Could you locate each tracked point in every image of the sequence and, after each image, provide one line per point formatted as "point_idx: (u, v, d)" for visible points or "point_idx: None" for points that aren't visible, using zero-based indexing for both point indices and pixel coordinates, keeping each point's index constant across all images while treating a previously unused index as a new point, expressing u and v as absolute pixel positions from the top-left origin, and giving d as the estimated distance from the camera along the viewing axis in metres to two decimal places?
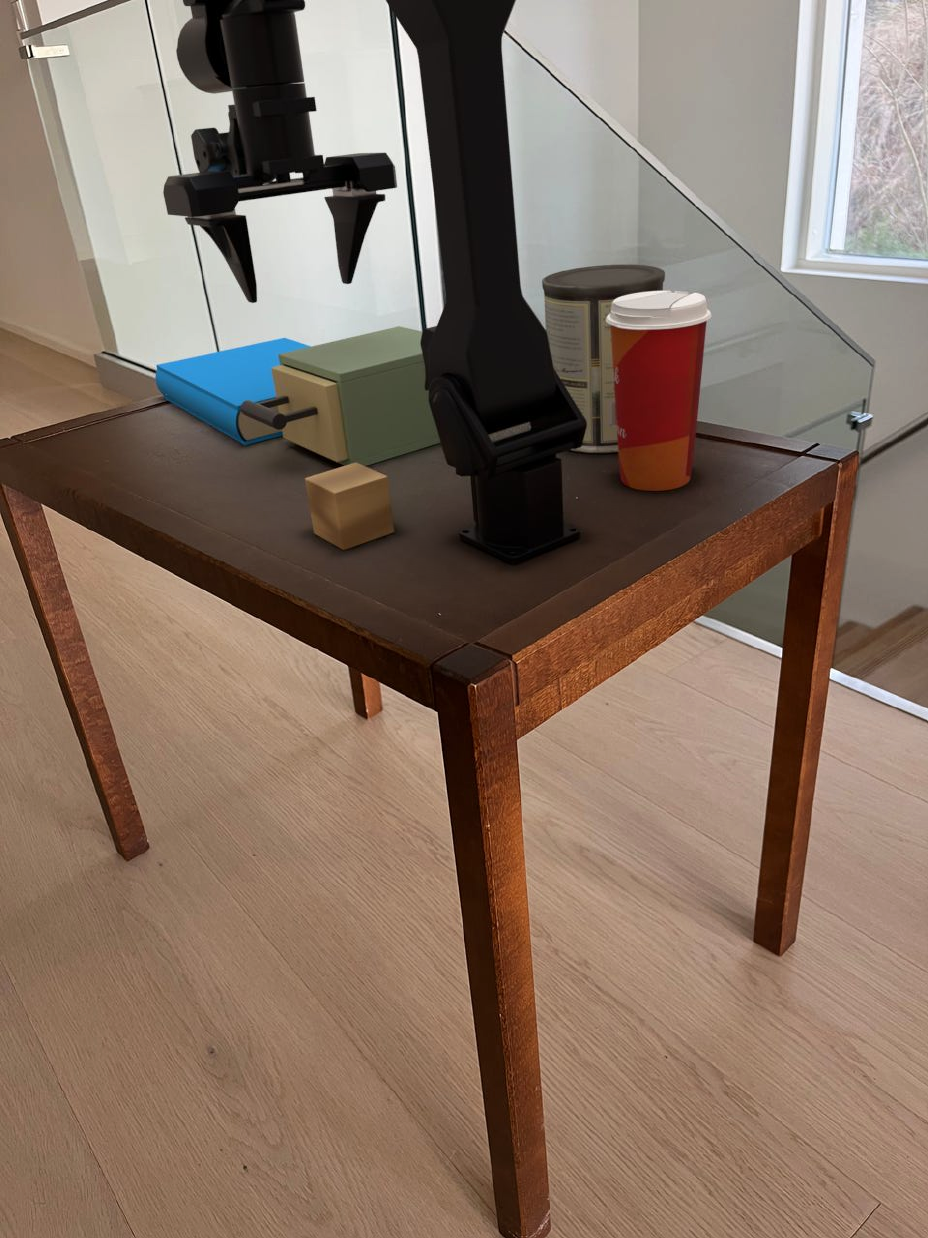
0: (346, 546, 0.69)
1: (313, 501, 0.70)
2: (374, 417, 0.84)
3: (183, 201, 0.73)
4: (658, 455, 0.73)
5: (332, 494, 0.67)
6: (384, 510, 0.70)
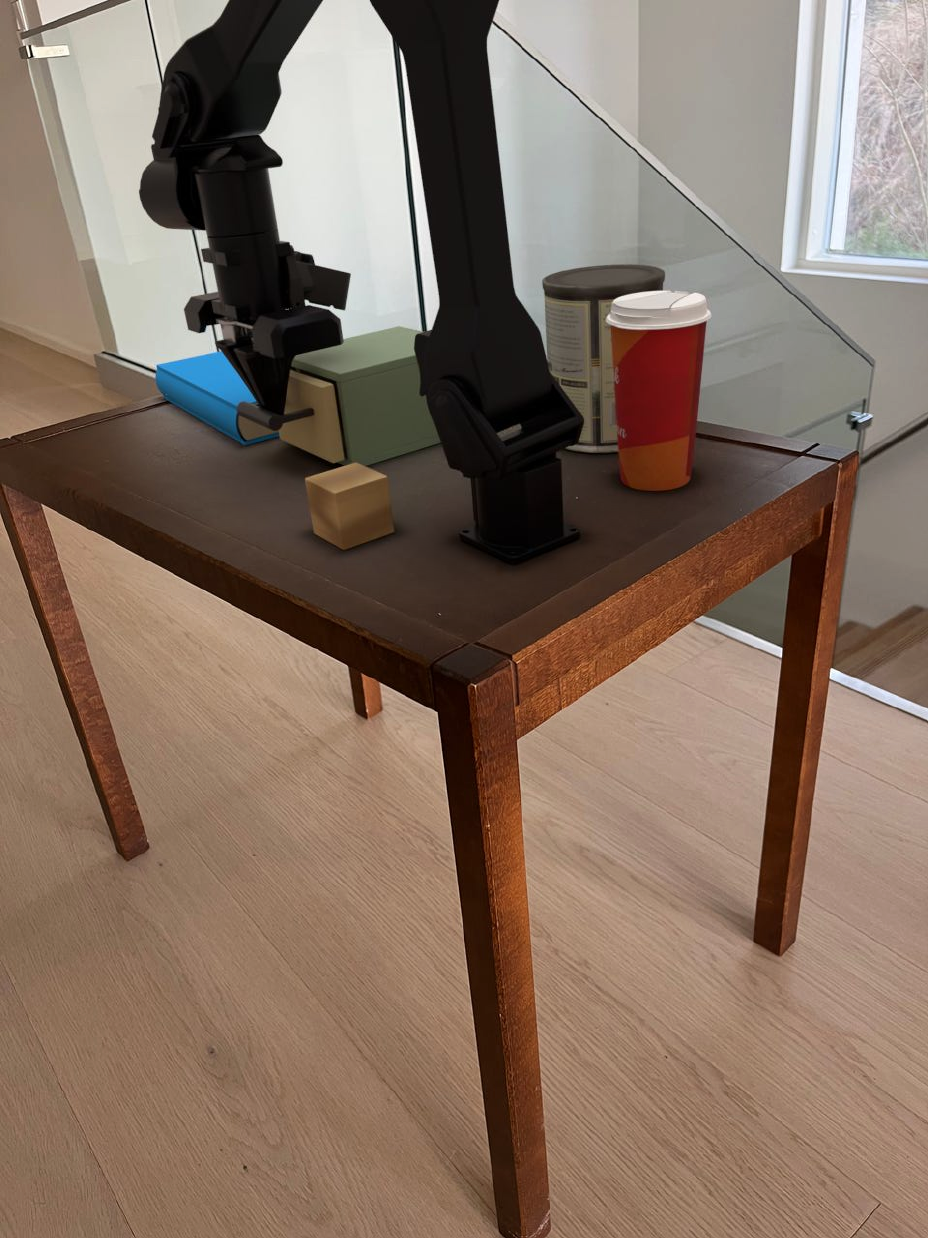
0: (346, 546, 0.69)
1: (313, 501, 0.70)
2: (374, 417, 0.84)
3: None
4: (658, 455, 0.73)
5: (332, 494, 0.67)
6: (384, 510, 0.70)
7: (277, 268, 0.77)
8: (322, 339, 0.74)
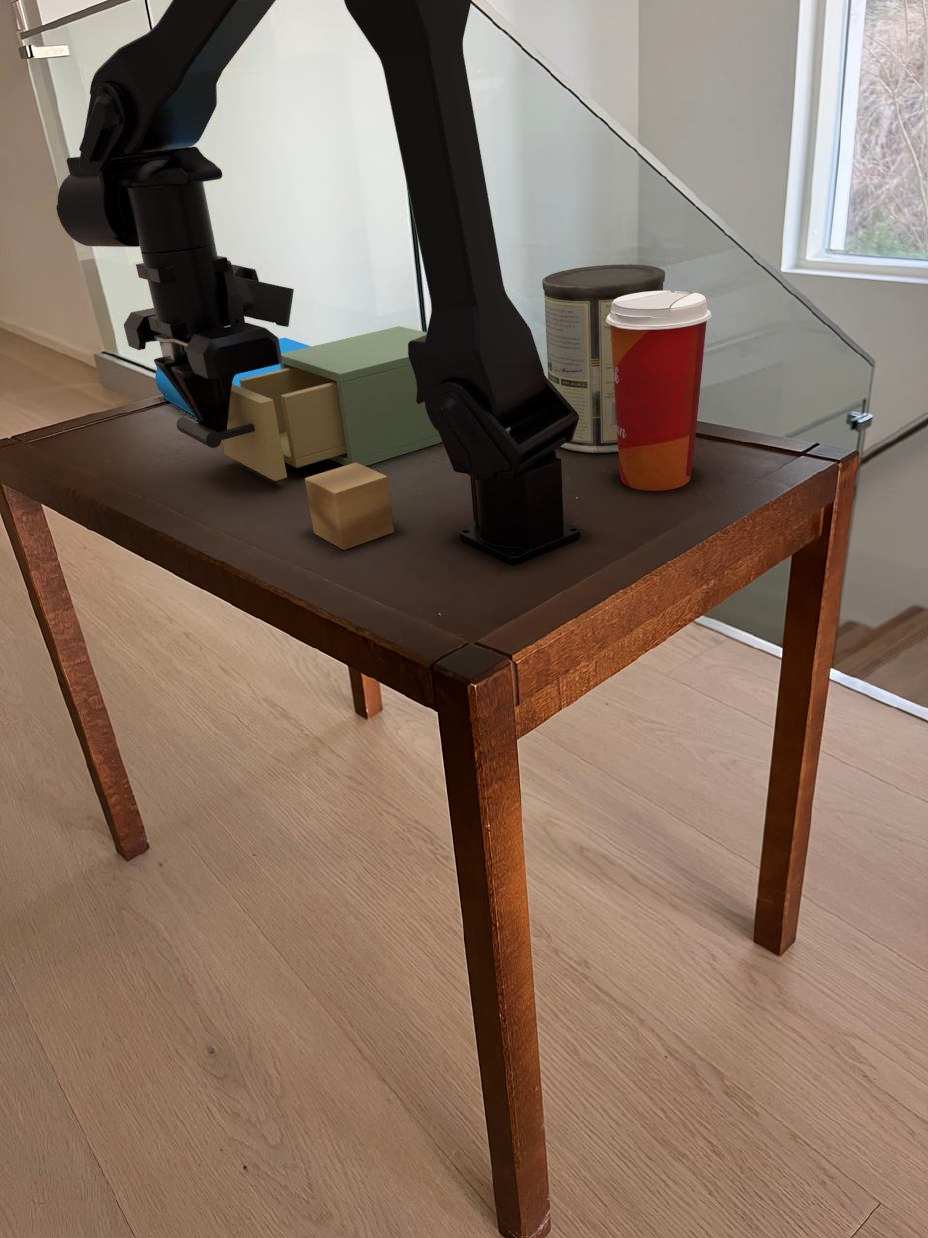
0: (346, 546, 0.69)
1: (313, 501, 0.70)
2: (374, 417, 0.84)
3: None
4: (658, 455, 0.73)
5: (332, 494, 0.67)
6: (384, 510, 0.70)
7: (215, 285, 0.75)
8: (258, 358, 0.72)
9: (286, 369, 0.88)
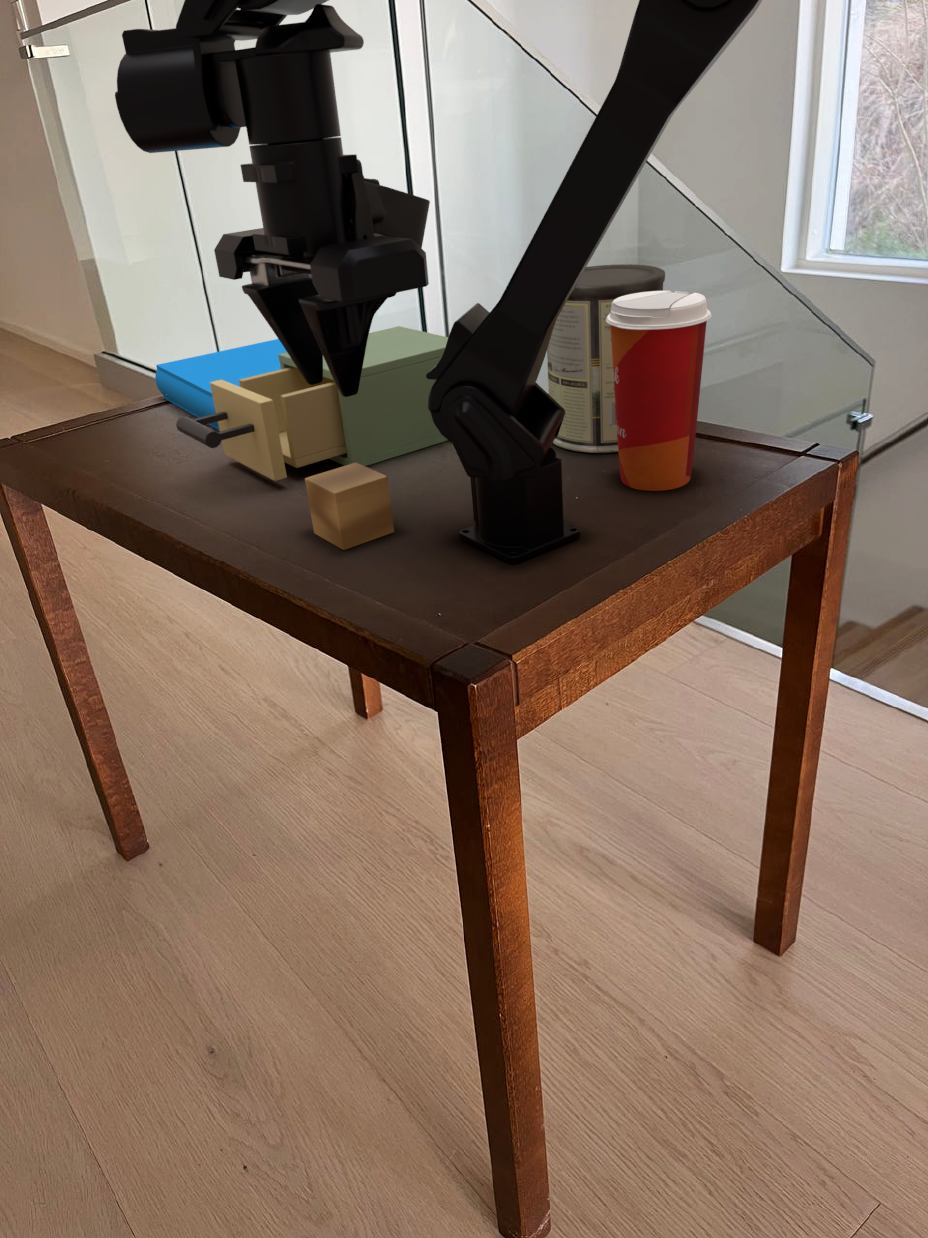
0: (346, 546, 0.69)
1: (313, 501, 0.70)
2: (374, 417, 0.84)
3: None
4: (658, 455, 0.73)
5: (332, 494, 0.67)
6: (384, 510, 0.70)
7: (341, 189, 0.59)
8: (403, 278, 0.57)
9: (286, 369, 0.88)
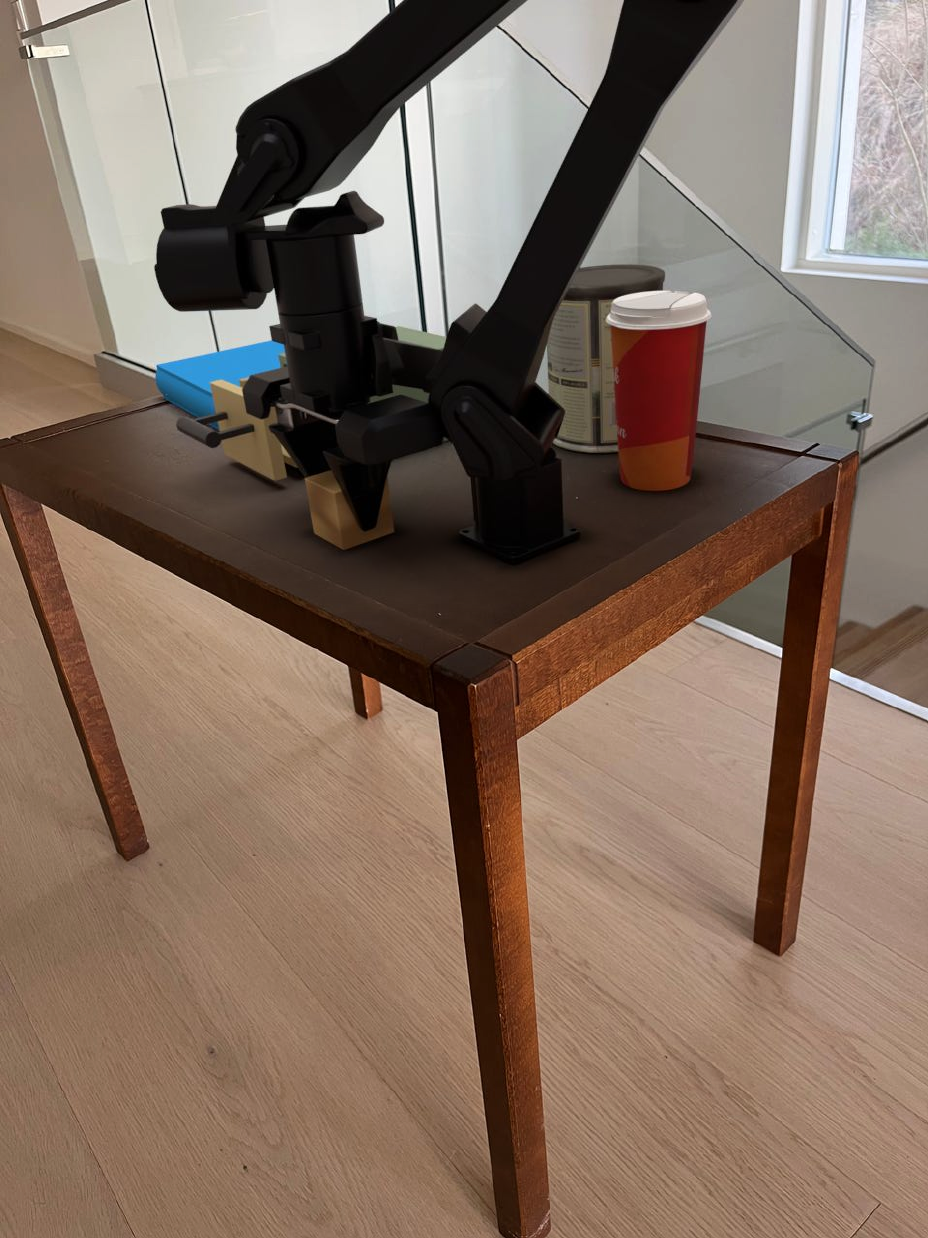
0: (346, 546, 0.69)
1: (313, 501, 0.70)
2: None
3: None
4: (658, 455, 0.73)
5: (332, 494, 0.67)
6: (384, 510, 0.70)
7: (362, 350, 0.64)
8: (421, 439, 0.61)
9: None
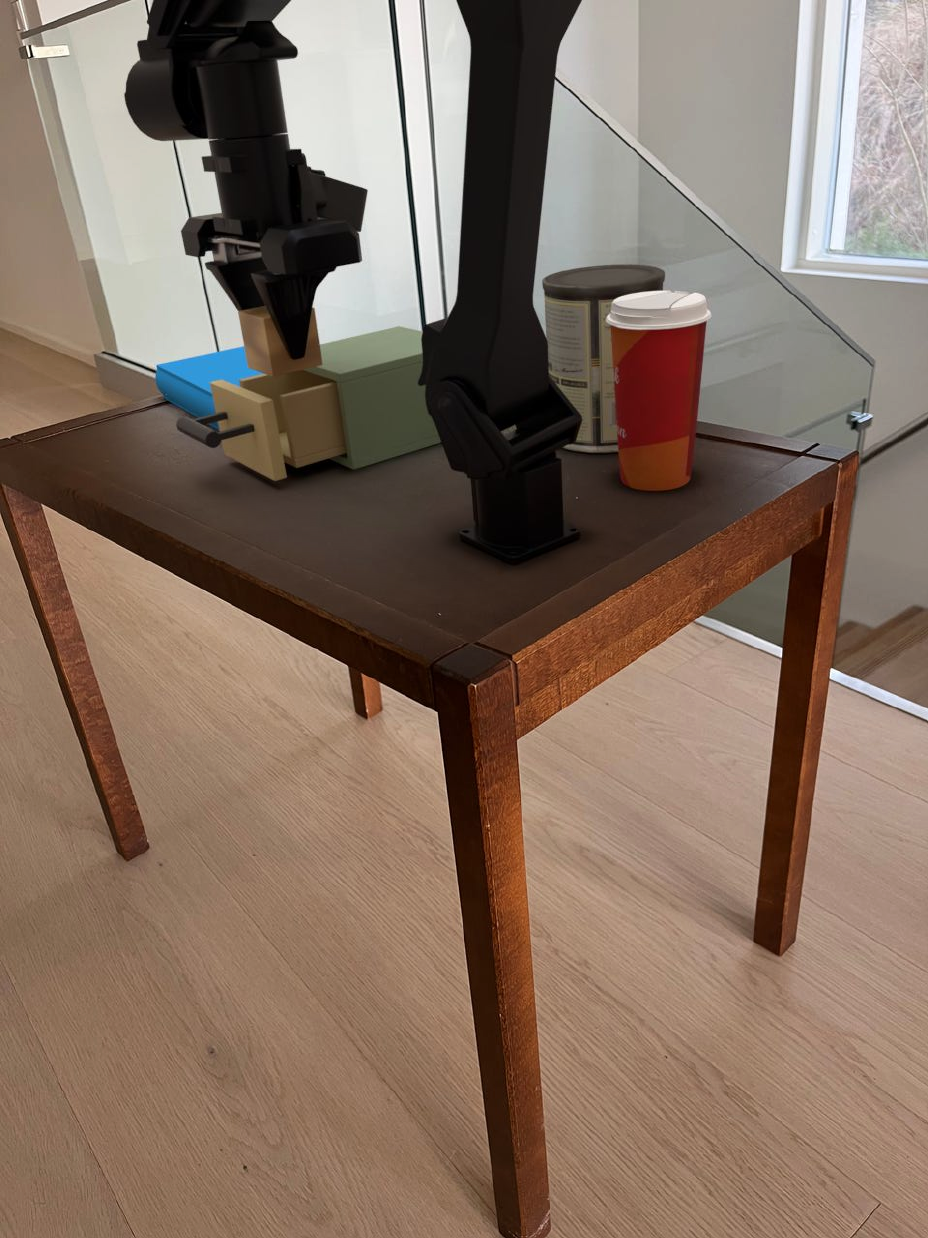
0: (276, 373, 0.74)
1: (246, 333, 0.75)
2: (374, 417, 0.84)
3: None
4: (658, 455, 0.73)
5: (261, 320, 0.72)
6: (312, 341, 0.75)
7: (288, 178, 0.69)
8: (339, 255, 0.66)
9: None
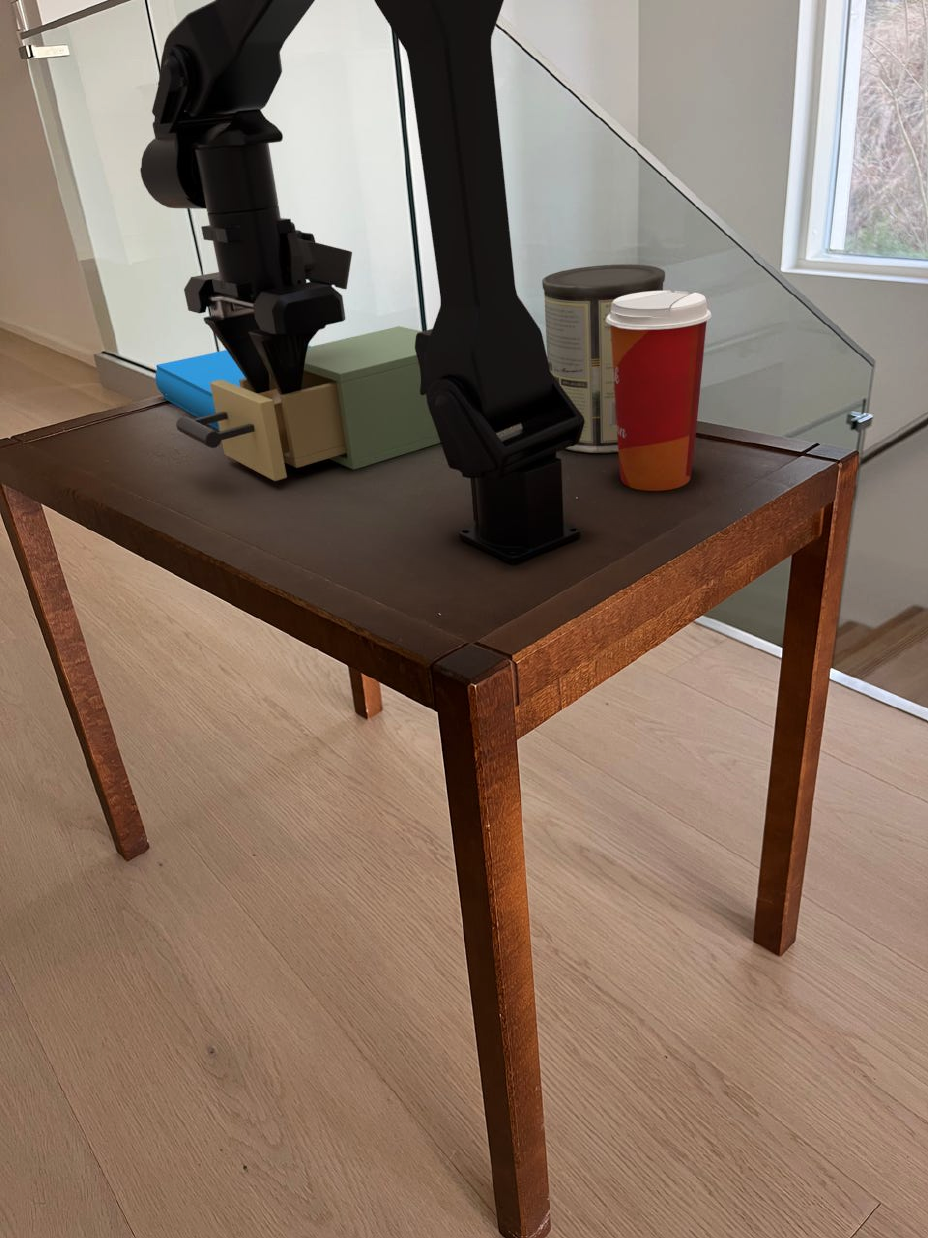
0: None
1: None
2: (374, 417, 0.84)
3: None
4: (658, 455, 0.73)
5: None
6: None
7: (278, 245, 0.77)
8: (324, 315, 0.74)
9: None
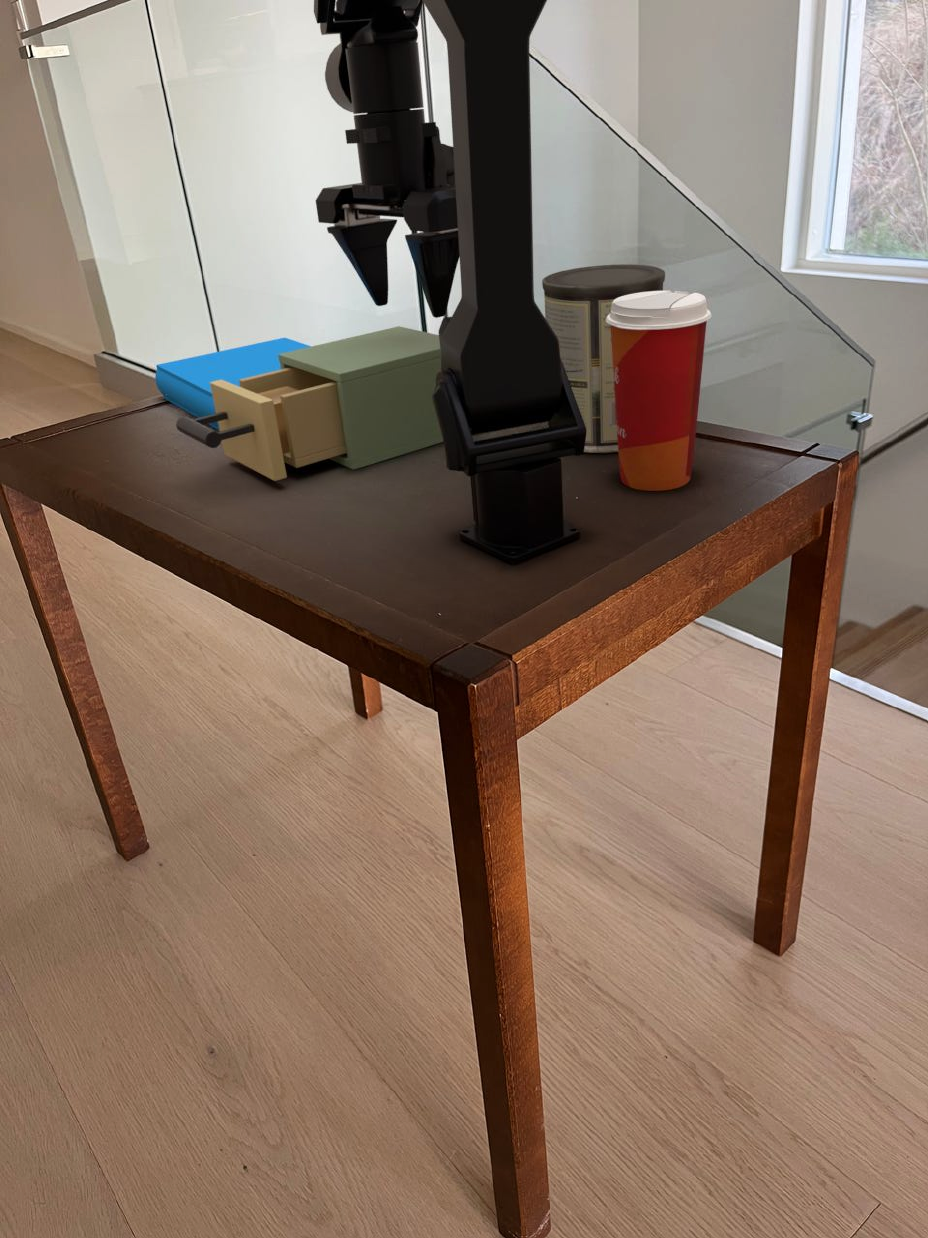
0: None
1: None
2: (374, 417, 0.84)
3: None
4: (658, 455, 0.73)
5: None
6: None
7: (423, 149, 0.77)
8: None
9: (286, 369, 0.88)
